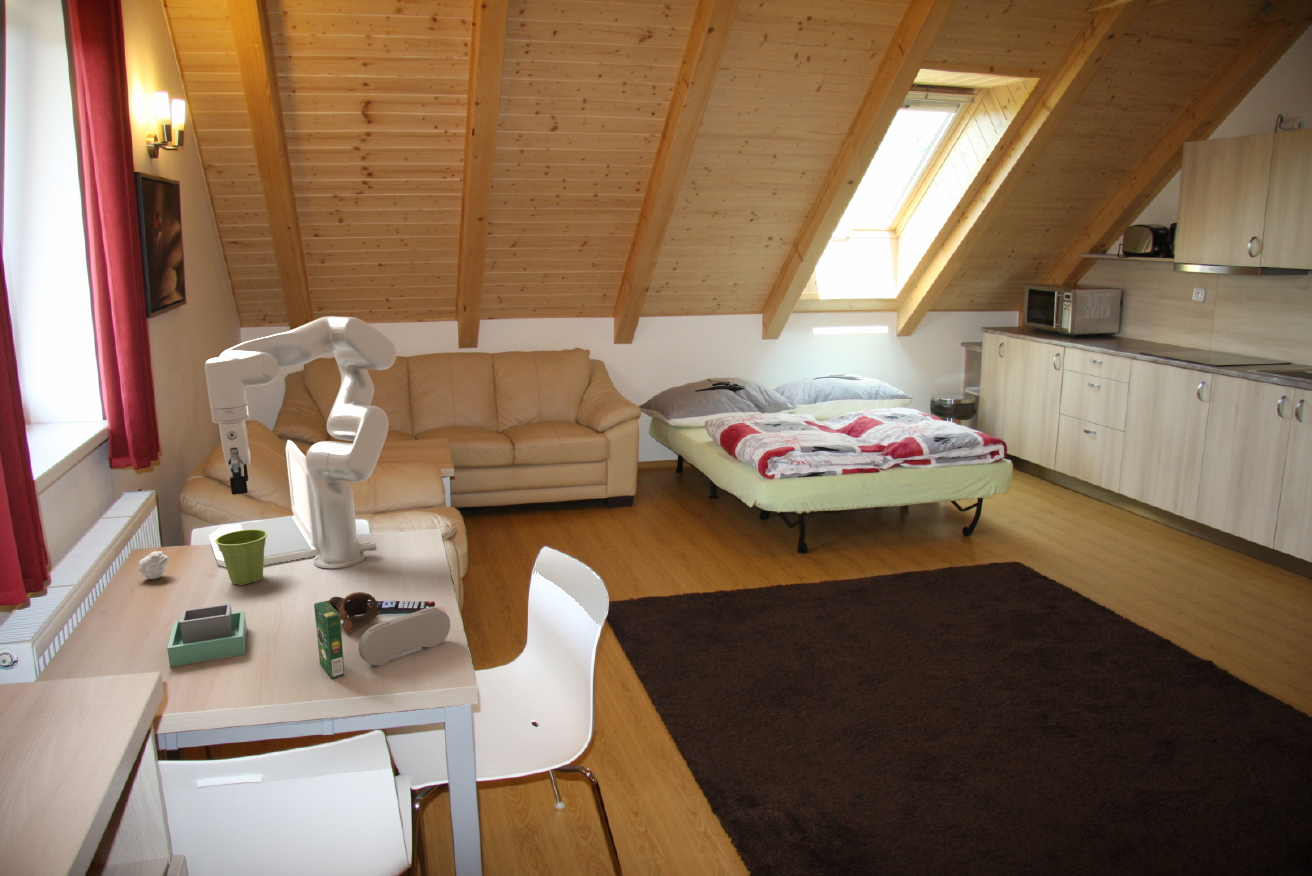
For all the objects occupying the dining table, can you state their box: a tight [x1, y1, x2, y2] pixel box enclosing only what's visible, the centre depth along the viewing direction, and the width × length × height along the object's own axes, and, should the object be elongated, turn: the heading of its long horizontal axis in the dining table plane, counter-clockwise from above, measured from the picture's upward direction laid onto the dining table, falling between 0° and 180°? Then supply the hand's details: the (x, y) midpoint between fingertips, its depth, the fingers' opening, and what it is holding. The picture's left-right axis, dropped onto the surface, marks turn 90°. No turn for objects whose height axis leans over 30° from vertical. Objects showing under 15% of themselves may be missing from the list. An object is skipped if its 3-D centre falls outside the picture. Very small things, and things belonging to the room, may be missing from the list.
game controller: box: [358, 606, 451, 667], centre depth 185 cm, size 20×2×8 cm, turn 133°
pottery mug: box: [328, 591, 381, 634], centre depth 199 cm, size 12×10×8 cm
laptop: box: [208, 439, 319, 567], centre depth 247 cm, size 33×24×26 cm
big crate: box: [166, 610, 248, 668], centre depth 190 cm, size 14×14×4 cm
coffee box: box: [313, 600, 346, 680], centre depth 178 cm, size 8×3×13 cm, turn 36°
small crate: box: [179, 603, 234, 644], centre depth 189 cm, size 9×6×6 cm
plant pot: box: [215, 529, 268, 586], centre depth 224 cm, size 12×12×11 cm
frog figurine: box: [138, 550, 169, 580], centre depth 226 cm, size 6×7×7 cm
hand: (240, 487), depth 206 cm, fingers open, 9 cm apart
